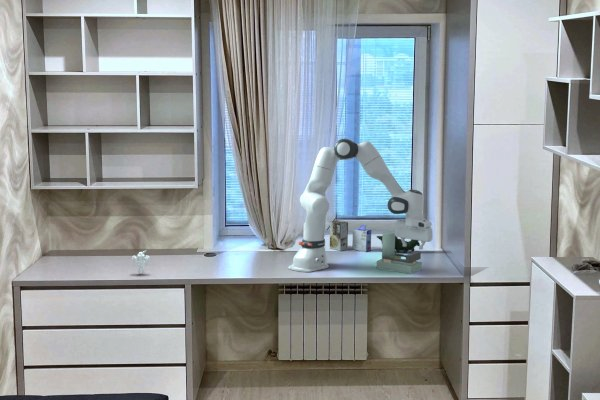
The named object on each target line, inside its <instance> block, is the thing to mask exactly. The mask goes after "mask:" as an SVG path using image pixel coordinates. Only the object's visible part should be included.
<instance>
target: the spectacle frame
mask: <svg viewBox="0 0 600 400" xmlns="http://www.w3.org/2000/svg"><path fill="white" fill-rule="evenodd" d="M421 252H422V251H419V250H414V251H413V252H412V251H411V252H410V253H406V254H402V253H398V252H395V256H401V259H396V258H390V257H384V256H383V257H382V256H381V259H388V260H394V261H400V262H406V263H412V262H414V261H419V260H421V257H422V256H421V255H422V253H421ZM403 258H405V259H406V260H402V259H403Z"/></svg>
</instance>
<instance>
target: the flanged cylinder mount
mask: <svg viewBox="0 0 600 400" xmlns="http://www.w3.org/2000/svg"><path fill="white" fill-rule="evenodd" d="M381 236H382V242H381V259H379V260H376V269H380V270H385V271H392V272H394V273H395V272H397V273H401V274H408V275H412V274H415V273H417V272H419V271H421V270H422V267H423V266H422V263H423V262H422V261H419V260H417V261H414V262H412V263H406V262H400V261H394V260H388V259H382V257H383V256H384V257H390V258H396V259H402V260H406V258H402V257H401V256H395V253H396V250H395V232H391V231H390V232H388V231H387V232H383V233H382V235H381ZM414 272H415V273H414Z"/></svg>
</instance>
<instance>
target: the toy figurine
mask: <svg viewBox="0 0 600 400" xmlns="http://www.w3.org/2000/svg"><path fill="white" fill-rule="evenodd" d="M376 238H377V239H378V240H380V241H381V243H382V235H377V236H376ZM405 243H407V246H406V247H403V243H402V241H401V238H399V237H396V236H395V253H400V252H401V251H402V252H403V253H404V254H408V252H409V251H411V253H412V252H415V248H416V247H419V246H420V245H421V244H420V243H421V242H420V241H418V240H412V239H410V240H405Z"/></svg>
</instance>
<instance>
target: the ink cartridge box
mask: <svg viewBox="0 0 600 400" xmlns="http://www.w3.org/2000/svg"><path fill="white" fill-rule="evenodd" d="M351 247H352V250H354V251H360V252H369V251H370V252H371V251H372V229H369V228H367V225H364V224H360V227H356V228H353V229H352V244H351Z"/></svg>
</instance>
